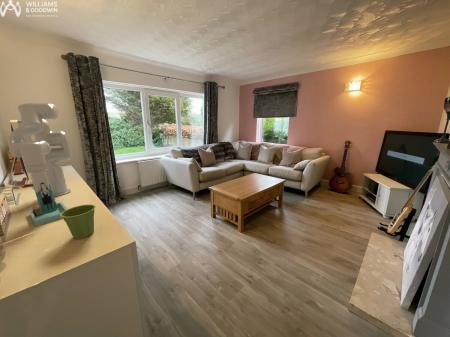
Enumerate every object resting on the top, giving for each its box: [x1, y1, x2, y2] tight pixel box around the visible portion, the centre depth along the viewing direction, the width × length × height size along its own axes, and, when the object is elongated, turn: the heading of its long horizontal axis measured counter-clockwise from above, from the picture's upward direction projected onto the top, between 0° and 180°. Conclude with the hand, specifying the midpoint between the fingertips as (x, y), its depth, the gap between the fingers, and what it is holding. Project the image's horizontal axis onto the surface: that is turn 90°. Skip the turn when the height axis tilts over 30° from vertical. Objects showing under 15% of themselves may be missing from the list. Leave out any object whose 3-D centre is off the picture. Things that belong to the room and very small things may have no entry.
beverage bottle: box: [33, 183, 57, 214], centre depth 95 cm, size 6×7×20 cm
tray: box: [29, 201, 68, 227], centre depth 99 cm, size 19×13×3 cm
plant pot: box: [60, 204, 97, 240], centre depth 80 cm, size 12×12×11 cm
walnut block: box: [32, 205, 43, 216], centre depth 100 cm, size 4×4×4 cm
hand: (46, 201), depth 96 cm, fingers closed on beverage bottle, 6 cm apart
